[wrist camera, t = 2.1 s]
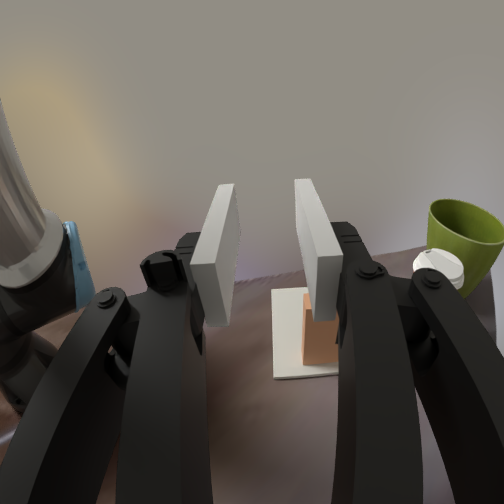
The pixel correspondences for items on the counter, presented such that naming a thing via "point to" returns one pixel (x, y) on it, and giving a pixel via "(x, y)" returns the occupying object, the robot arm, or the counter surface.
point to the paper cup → (442, 265)
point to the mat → (292, 337)
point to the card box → (318, 337)
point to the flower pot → (466, 237)
